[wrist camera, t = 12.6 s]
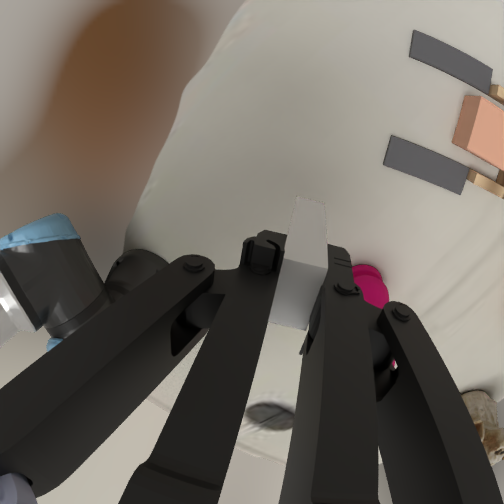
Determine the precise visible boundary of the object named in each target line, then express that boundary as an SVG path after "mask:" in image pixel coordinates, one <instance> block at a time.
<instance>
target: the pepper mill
mask: <svg viewBox="0 0 504 504" xmlns="http://www.w3.org/2000/svg"><path fill="white" fill-rule="evenodd" d="M352 271H353V278H354V283H355V284H357V285H358V286H359V287H360V288H361V290H362V292H363V296H364V300H365V301H366V302H368V303H370V304H372V305H374V306H376V307H378V308H381V309H383V307H384V305H385V304H386V303H387V302H389V294H388V290H387V287H386V286H385V284H384V283H383V282H382V277H381V275H380V273H379V272H378V270H377V269H375V268H374V267H372V266H369V265H357V266H354V267H352ZM392 364H393V366H394V365H395V360H394V361H393V363H392Z"/></svg>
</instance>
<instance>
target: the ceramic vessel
mask: <svg viewBox="0 0 504 504" xmlns="http://www.w3.org/2000/svg"><path fill="white" fill-rule="evenodd" d="M461 396H462V398H463V401H464V403H465V405H466V407H467V409H468V411H469V413H470V416H471V418H472V420H473V422H474V424H475V427H476V429H477V431H478V434H479V436H480V438H481V441H482V443H483V446H484V448H485V451H486V453H487V456H488V459H489V461H490V464H491V466H493V465H495V462H499V461H500V460H501V459H502V460H504V428H499V424H498V421H497V409H496V408H497V402H496V401H494V400H492V399H491V398H490V397H489V396H488V395H487V394H486V393H485V392H484V391H471V392H467V393H464V394H462V395H461Z"/></svg>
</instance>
